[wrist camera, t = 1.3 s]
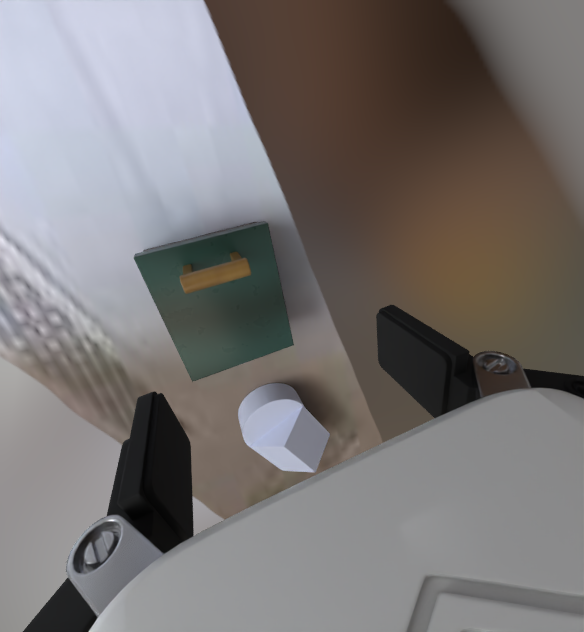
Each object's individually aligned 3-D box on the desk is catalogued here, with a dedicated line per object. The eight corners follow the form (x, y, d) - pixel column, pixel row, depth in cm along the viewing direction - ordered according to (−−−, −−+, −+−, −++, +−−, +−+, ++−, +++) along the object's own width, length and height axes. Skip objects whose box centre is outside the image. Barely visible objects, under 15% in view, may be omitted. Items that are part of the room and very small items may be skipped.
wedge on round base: (320, 417, 45) (278, 371, 38) (340, 452, 40) (295, 406, 33) (275, 452, 45) (224, 412, 38) (289, 491, 39) (232, 453, 32)
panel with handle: (135, 253, 23) (123, 274, 18) (264, 220, 25) (283, 231, 21) (191, 374, 29) (194, 412, 25) (290, 339, 32) (309, 368, 27)
